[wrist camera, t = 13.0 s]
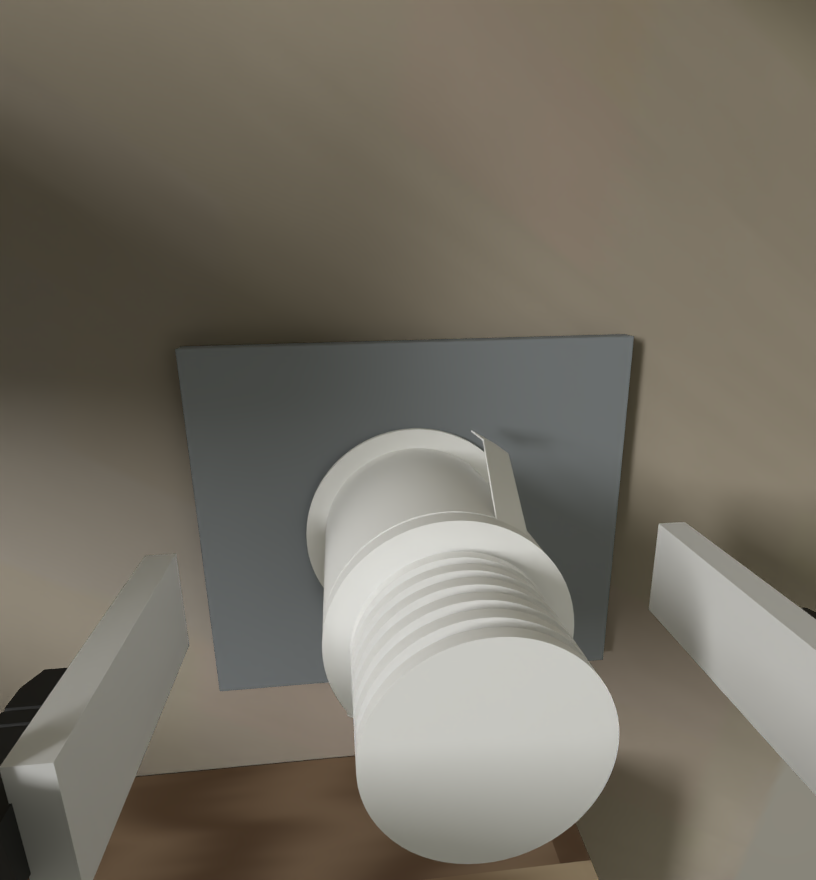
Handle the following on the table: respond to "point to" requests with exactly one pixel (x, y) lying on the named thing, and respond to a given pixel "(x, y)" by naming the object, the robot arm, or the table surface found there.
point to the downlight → (454, 651)
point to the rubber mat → (365, 416)
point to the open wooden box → (289, 832)
